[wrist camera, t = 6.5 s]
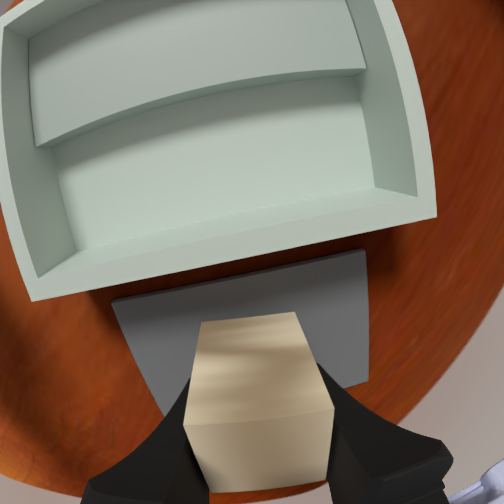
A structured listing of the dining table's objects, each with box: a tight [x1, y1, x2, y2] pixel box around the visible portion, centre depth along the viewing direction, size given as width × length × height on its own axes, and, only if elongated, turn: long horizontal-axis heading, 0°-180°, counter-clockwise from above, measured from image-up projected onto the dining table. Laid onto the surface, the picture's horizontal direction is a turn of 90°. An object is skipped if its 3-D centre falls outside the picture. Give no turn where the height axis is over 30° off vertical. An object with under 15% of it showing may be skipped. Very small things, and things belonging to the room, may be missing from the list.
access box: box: [0, 0, 437, 302], centre depth 9 cm, size 15×12×4 cm
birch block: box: [183, 312, 334, 493], centre depth 10 cm, size 4×4×6 cm
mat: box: [111, 248, 369, 417], centre depth 14 cm, size 12×8×1 cm, turn 101°
